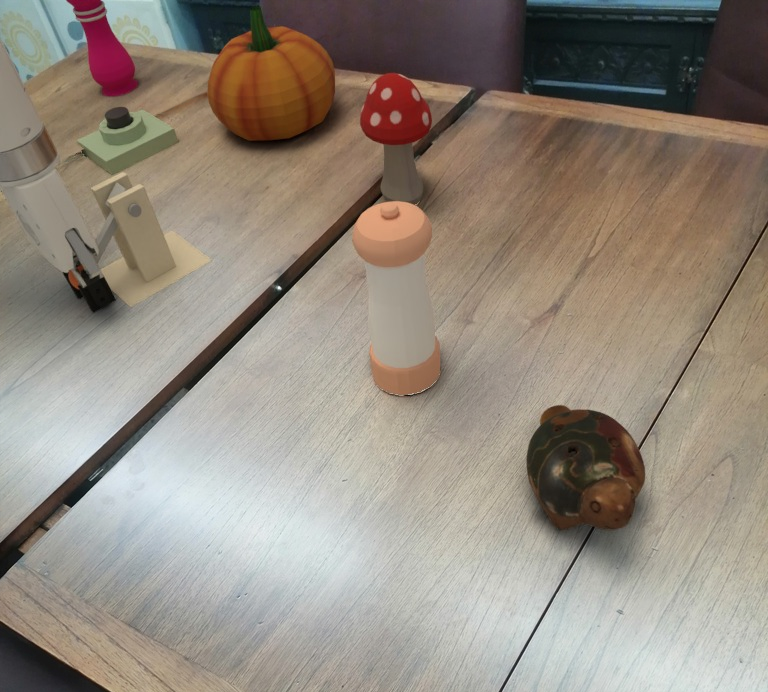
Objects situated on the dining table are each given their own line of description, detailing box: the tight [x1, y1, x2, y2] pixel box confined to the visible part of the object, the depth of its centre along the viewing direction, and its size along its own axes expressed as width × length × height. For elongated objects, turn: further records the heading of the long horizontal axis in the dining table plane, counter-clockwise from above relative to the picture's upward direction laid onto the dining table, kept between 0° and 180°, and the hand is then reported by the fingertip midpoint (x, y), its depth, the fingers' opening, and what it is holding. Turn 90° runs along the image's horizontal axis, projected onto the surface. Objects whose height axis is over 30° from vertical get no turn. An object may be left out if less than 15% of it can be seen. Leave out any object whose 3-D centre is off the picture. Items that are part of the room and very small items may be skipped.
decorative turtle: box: [525, 404, 646, 531], centre depth 60 cm, size 10×15×8 cm, turn 16°
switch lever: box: [68, 183, 128, 289], centre depth 82 cm, size 13×3×3 cm
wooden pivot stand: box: [90, 171, 213, 308], centre depth 84 cm, size 12×10×12 cm
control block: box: [76, 108, 179, 176], centre depth 107 cm, size 12×10×4 cm
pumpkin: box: [206, 5, 336, 142], centre depth 102 cm, size 19×19×15 cm
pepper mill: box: [65, 0, 139, 97], centre depth 111 cm, size 7×7×20 cm
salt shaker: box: [351, 201, 442, 395], centre depth 66 cm, size 7×7×19 cm
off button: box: [104, 106, 132, 129], centre depth 105 cm, size 4×4×2 cm
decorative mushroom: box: [359, 72, 433, 205], centre depth 87 cm, size 10×9×15 cm
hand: (96, 299), depth 85 cm, fingers closed on switch lever, 3 cm apart
